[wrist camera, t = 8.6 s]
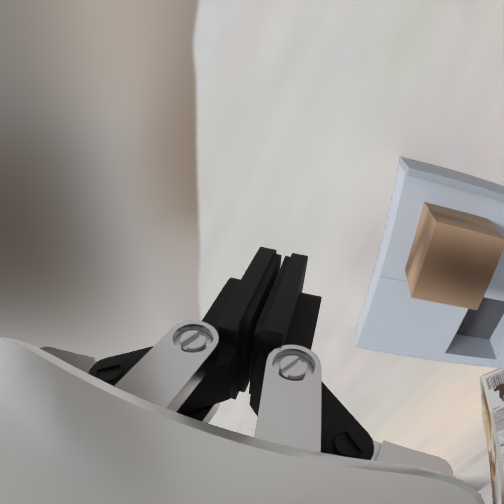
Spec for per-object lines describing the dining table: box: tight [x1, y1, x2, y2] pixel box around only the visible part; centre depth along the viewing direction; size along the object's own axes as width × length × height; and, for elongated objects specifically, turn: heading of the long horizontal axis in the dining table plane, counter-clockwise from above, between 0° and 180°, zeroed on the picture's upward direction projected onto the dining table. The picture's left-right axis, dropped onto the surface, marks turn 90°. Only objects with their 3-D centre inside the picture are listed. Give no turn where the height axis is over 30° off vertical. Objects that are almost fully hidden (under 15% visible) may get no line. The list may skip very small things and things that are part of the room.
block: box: [405, 202, 504, 310], centre depth 17 cm, size 5×5×4 cm
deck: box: [356, 157, 504, 368], centre depth 19 cm, size 16×22×4 cm
